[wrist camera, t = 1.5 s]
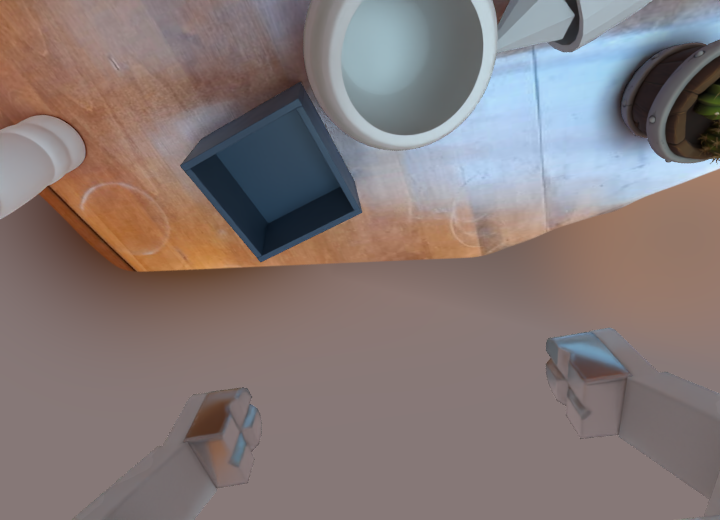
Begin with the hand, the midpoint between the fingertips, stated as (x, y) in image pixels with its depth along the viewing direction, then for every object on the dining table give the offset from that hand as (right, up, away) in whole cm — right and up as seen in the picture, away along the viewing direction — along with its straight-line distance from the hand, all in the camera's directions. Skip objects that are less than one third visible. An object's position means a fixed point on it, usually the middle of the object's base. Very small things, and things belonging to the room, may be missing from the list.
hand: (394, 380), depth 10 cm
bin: (-12, +17, +43) cm, 48 cm away
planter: (0, +31, +35) cm, 47 cm away
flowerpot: (+41, +28, +43) cm, 66 cm away
